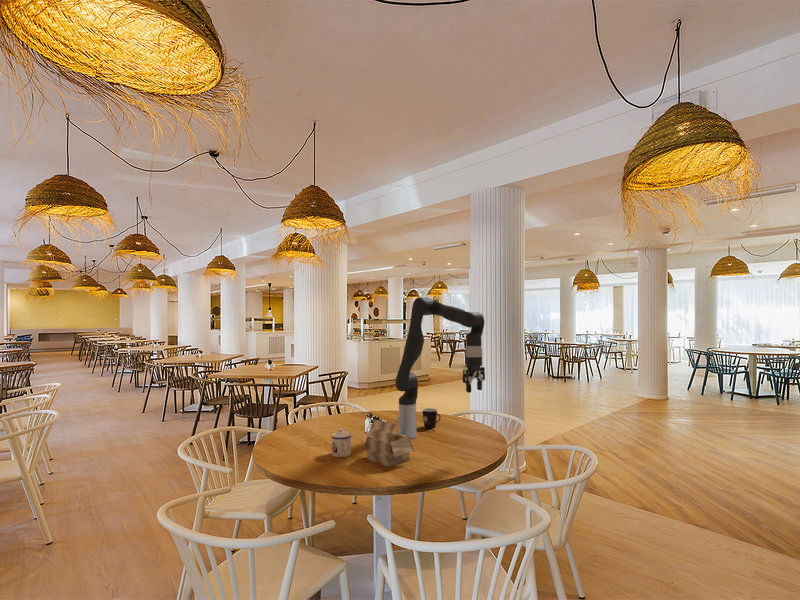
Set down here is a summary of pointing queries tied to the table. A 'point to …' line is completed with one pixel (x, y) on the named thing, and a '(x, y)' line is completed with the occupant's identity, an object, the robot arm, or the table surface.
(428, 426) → the coffee mug
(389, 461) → the carton
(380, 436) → the front flap
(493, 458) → the table surface
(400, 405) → the robot arm
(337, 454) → the teacup with lid
